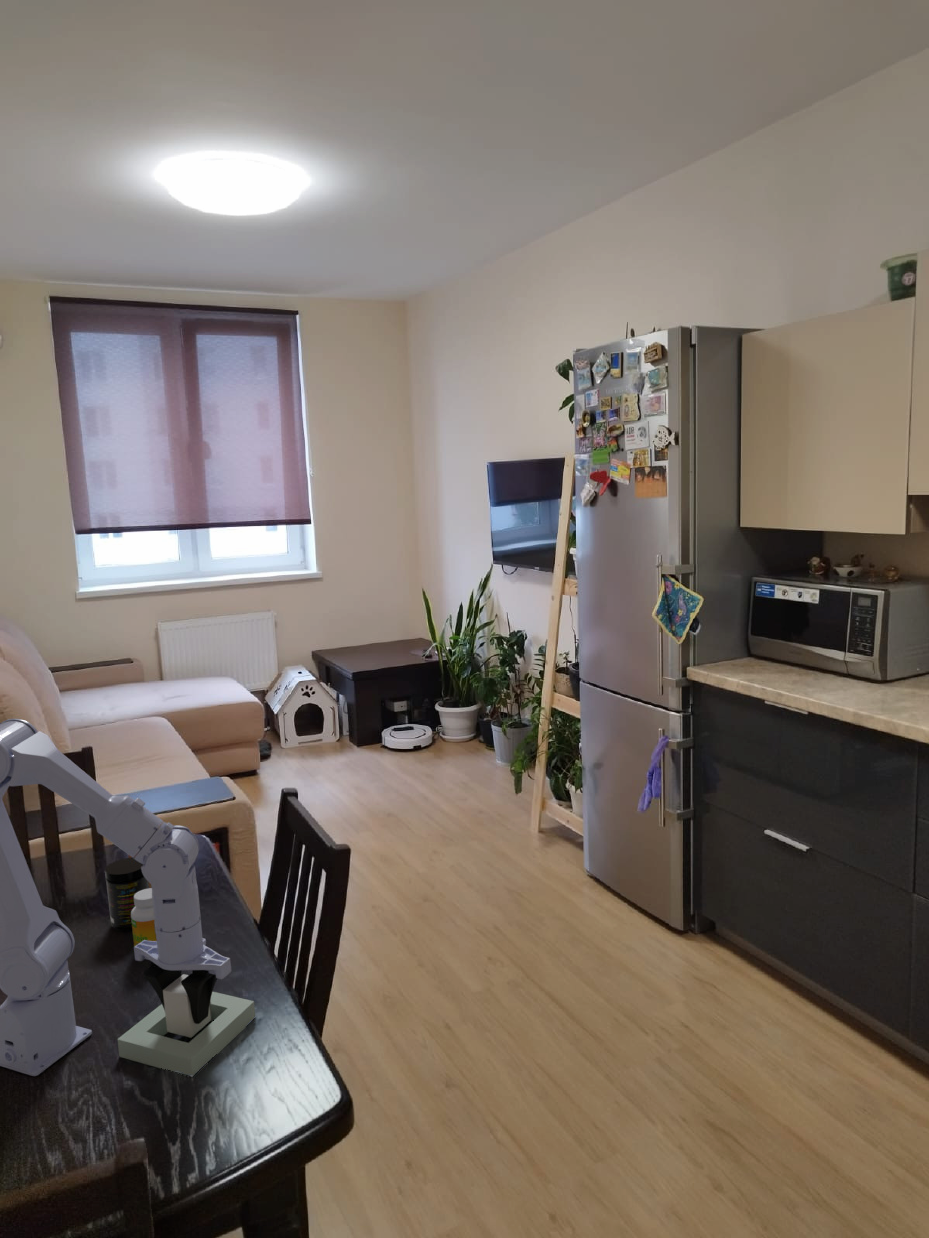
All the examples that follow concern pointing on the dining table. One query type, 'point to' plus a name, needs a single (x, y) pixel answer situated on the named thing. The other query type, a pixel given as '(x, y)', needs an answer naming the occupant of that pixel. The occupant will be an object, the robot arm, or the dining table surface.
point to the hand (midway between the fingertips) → (187, 1015)
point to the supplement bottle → (143, 917)
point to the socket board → (180, 1056)
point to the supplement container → (123, 890)
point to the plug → (181, 1010)
